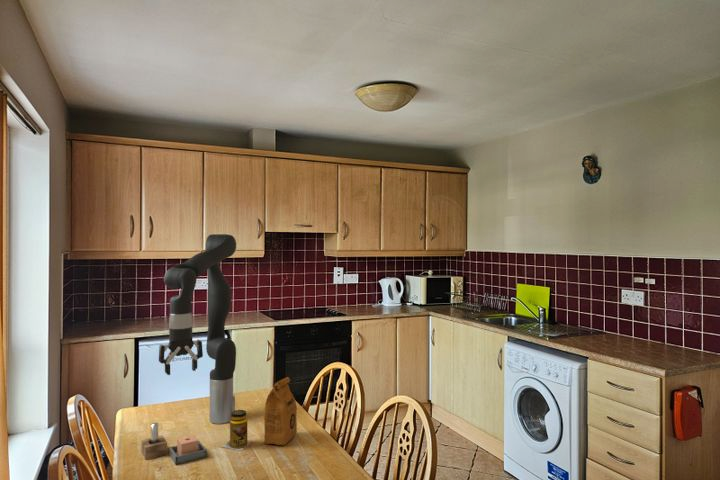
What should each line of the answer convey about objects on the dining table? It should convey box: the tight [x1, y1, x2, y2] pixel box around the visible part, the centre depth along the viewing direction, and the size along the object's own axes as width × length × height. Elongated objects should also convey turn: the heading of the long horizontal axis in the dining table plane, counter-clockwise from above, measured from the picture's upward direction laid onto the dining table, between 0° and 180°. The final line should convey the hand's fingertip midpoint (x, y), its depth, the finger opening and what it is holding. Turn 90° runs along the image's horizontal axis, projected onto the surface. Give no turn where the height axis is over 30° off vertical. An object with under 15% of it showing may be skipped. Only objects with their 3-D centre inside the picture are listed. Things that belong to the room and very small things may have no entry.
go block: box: [140, 435, 168, 460], centre depth 167 cm, size 7×7×4 cm
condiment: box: [220, 409, 252, 451], centre depth 174 cm, size 7×8×12 cm
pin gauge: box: [150, 422, 159, 444], centre depth 167 cm, size 2×2×10 cm
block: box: [176, 434, 199, 456], centre depth 165 cm, size 6×6×5 cm
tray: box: [168, 440, 207, 466], centre depth 165 cm, size 10×9×2 cm
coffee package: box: [263, 376, 298, 446], centre depth 178 cm, size 10×12×22 cm
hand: (181, 372), depth 169 cm, fingers open, 8 cm apart
